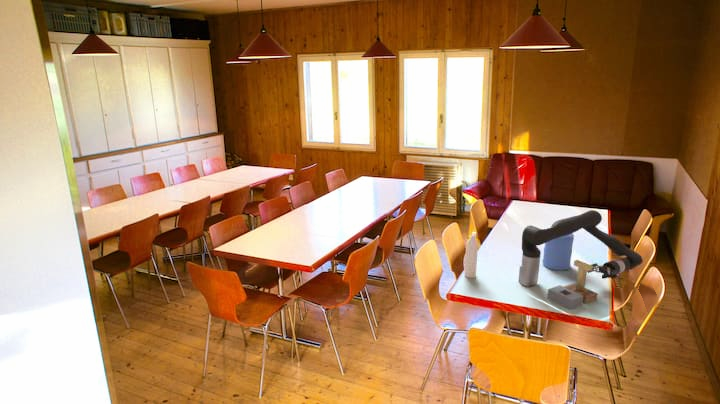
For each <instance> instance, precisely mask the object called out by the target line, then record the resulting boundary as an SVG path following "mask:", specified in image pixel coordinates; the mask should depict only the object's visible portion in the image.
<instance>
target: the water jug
mask: <svg viewBox="0 0 720 404" xmlns="http://www.w3.org/2000/svg"><path fill="white" fill-rule="evenodd" d="M574 237H575V234H574V233H572V234H570V235H566V236H563V237H559V238H556V239H553V240H551V241H548V242H546V243H544V247H543V258H542V265H543V266H544V267H546V268H548V269H550V270H554V271H566V270H569V269H570V267H571V260H572V259H571V258H572V255H573V245H574V244H573V243H574Z"/></svg>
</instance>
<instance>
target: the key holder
mask: <svg viewBox="0 0 720 404" xmlns="http://www.w3.org/2000/svg"><path fill="white" fill-rule="evenodd" d="M547 299H549V300H550V301H553V302H554V303H557V304H559V305H560V306H563V308H564V307H565V308H567V309H568V310H572V309H575V308H578V307H581V306H583V304H584V303H583V296H582V295H580V294H578V293H576V292H574V291H571V290H569V289H567V288H565V287H564V285H561V284H560V285H556V286H554V287H551V288H548V289H547Z"/></svg>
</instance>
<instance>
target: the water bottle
mask: <svg viewBox="0 0 720 404" xmlns="http://www.w3.org/2000/svg"><path fill="white" fill-rule="evenodd" d="M476 235H477V232H476V231H472V232H471V234H470V237H469V238H468V240H467V241H466V247H465V261H464V262H465V263H464V264H465V265H464V277H466V278H469V279H470V278H471V279H473V278H476V276H477V264H478V263H477V262H478V249H479V248H478V247H479V242H478V240H477V239H476Z"/></svg>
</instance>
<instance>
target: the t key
mask: <svg viewBox="0 0 720 404" xmlns="http://www.w3.org/2000/svg"><path fill="white" fill-rule="evenodd" d="M591 265H592V264H589V263H587V262H584V261H580V260H579V259H576V260H574V261H573V266H575V267H577V276H576V282H575V284H576V290H577V291H579V292H583V291H584V289H585V288H586V281H587V274H588V272H587V271H592V269H593V266H591Z"/></svg>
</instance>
